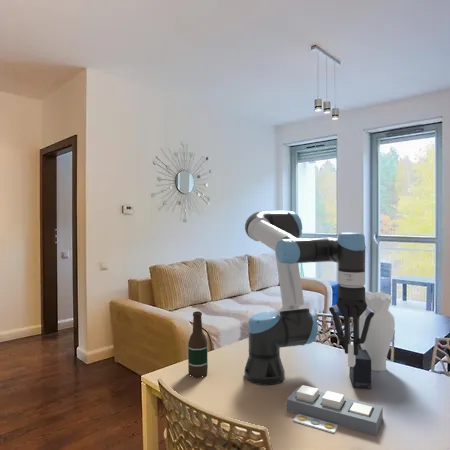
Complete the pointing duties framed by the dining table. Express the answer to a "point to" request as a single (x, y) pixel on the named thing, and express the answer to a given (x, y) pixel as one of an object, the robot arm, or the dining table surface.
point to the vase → (378, 329)
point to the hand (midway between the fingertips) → (351, 365)
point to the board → (337, 413)
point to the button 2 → (333, 400)
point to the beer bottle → (197, 348)
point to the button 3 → (361, 409)
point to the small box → (361, 370)
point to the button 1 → (307, 393)
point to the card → (316, 423)
